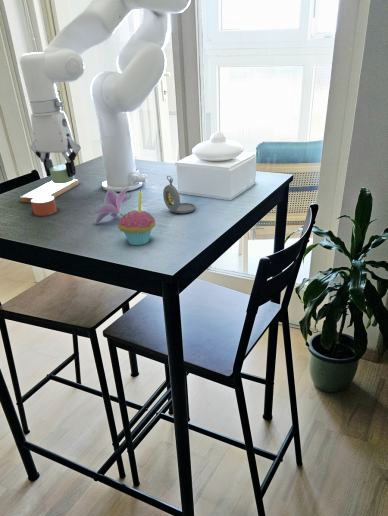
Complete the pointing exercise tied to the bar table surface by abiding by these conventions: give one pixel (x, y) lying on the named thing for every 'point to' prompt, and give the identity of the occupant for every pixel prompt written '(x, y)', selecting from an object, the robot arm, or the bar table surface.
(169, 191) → the pocket watch
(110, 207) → the lily
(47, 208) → the terracotta disc
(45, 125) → the robot arm
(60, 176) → the sage disc
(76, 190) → the bar table surface
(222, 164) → the butter dish
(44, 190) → the board
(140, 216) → the cupcake
